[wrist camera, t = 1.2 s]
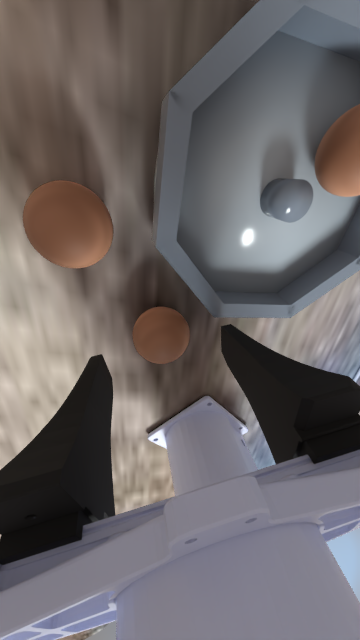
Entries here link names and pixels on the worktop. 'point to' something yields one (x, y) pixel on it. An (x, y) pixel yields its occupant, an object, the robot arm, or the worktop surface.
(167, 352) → the bead
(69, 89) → the worktop surface
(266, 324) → the worktop surface
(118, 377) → the worktop surface
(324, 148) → the bead seated
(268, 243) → the groove tray
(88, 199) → the bead
